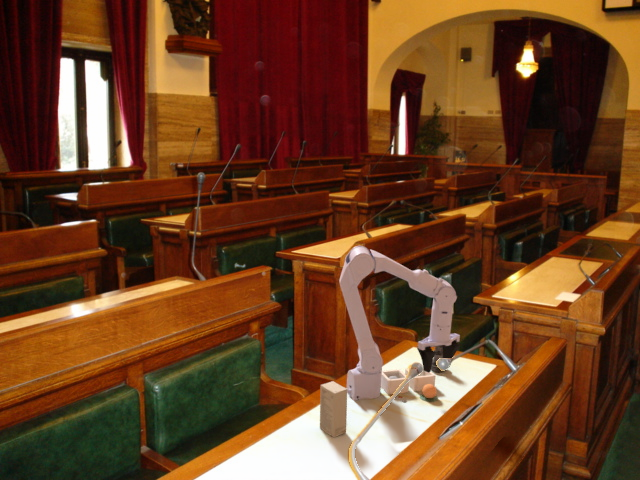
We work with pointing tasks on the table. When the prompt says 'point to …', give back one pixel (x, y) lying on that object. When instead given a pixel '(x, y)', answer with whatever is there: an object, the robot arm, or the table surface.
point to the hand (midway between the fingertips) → (436, 368)
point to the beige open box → (421, 380)
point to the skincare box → (333, 408)
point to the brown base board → (423, 399)
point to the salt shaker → (438, 355)
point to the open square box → (393, 381)
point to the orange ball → (429, 391)
